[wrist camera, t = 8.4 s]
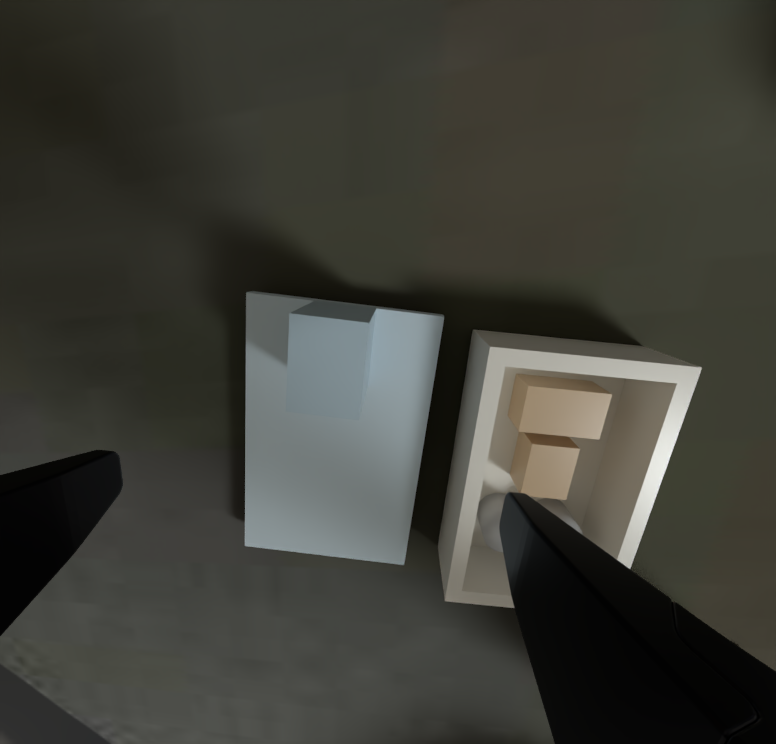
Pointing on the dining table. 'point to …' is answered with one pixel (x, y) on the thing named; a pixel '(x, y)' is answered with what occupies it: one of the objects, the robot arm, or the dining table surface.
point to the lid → (335, 424)
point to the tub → (556, 447)
